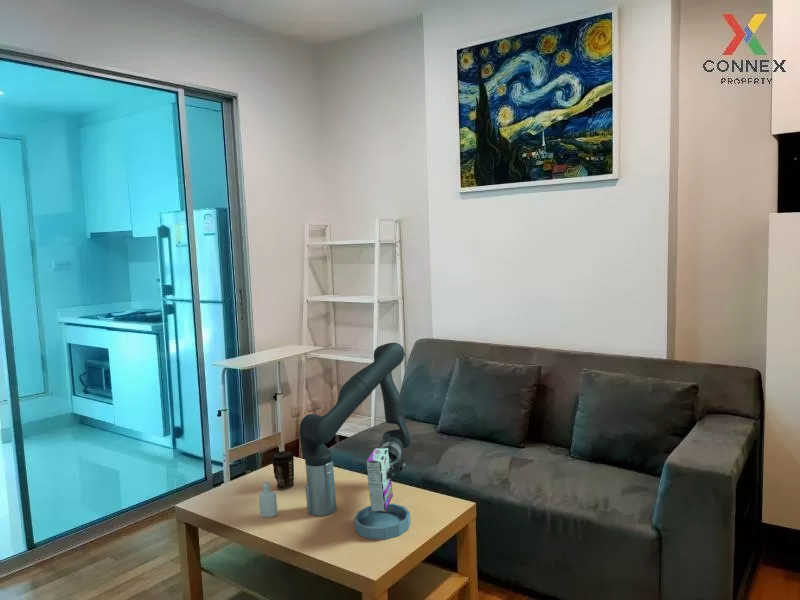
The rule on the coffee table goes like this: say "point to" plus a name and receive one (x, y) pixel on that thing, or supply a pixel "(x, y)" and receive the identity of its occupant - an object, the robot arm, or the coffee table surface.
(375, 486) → the candy bar box
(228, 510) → the coffee table surface
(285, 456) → the coffee cup
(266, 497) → the eye dropper bottle
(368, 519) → the bowl
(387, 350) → the robot arm
